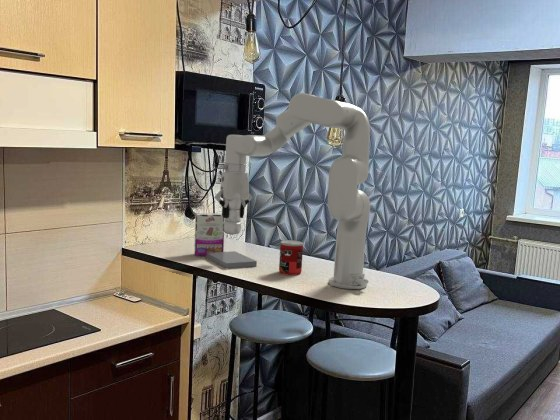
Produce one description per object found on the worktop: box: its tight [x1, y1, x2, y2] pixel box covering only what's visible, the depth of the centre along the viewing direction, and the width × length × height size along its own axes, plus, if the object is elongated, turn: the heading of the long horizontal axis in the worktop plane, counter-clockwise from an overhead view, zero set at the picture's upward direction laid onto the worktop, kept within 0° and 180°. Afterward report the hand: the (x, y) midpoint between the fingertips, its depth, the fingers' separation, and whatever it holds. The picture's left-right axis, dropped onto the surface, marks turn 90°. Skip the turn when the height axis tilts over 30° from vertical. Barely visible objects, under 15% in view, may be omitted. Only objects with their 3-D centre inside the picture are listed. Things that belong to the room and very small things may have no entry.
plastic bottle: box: [223, 193, 242, 236], centre depth 201 cm, size 6×7×20 cm
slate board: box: [206, 250, 258, 270], centre depth 203 cm, size 18×12×2 cm, turn 31°
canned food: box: [278, 239, 304, 276], centre depth 192 cm, size 8×8×11 cm
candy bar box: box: [194, 212, 225, 257], centre depth 213 cm, size 11×5×16 cm, turn 104°
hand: (232, 217), depth 201 cm, fingers closed on plastic bottle, 5 cm apart
